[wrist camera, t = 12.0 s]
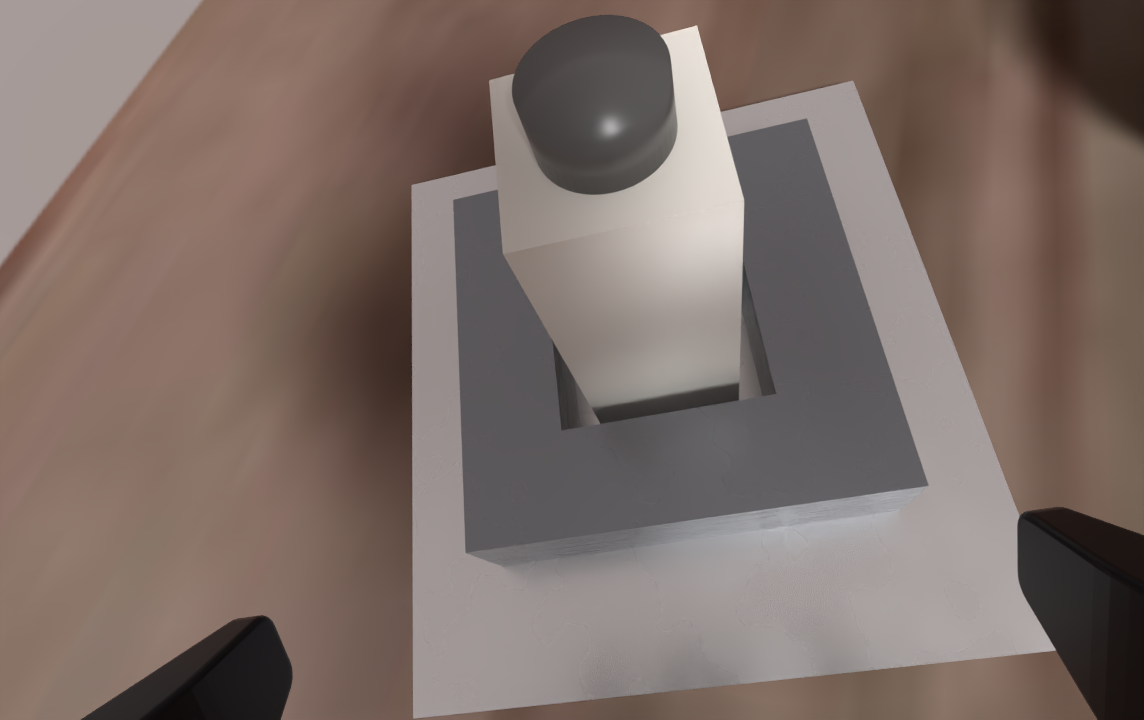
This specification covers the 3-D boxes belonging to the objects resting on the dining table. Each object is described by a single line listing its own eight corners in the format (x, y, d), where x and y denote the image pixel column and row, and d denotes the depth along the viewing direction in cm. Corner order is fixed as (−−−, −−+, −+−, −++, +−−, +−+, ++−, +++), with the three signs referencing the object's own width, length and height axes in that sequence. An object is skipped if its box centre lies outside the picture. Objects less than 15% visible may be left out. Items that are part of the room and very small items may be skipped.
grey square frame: (1056, 649, 18) (1137, 648, 14) (423, 716, 21) (359, 730, 17) (849, 96, 26) (868, 8, 23) (419, 196, 29) (375, 132, 25)
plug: (738, 407, 22) (746, 141, 10) (604, 431, 22) (474, 204, 11) (711, 289, 23) (693, -44, 12) (588, 315, 24) (463, 20, 13)
